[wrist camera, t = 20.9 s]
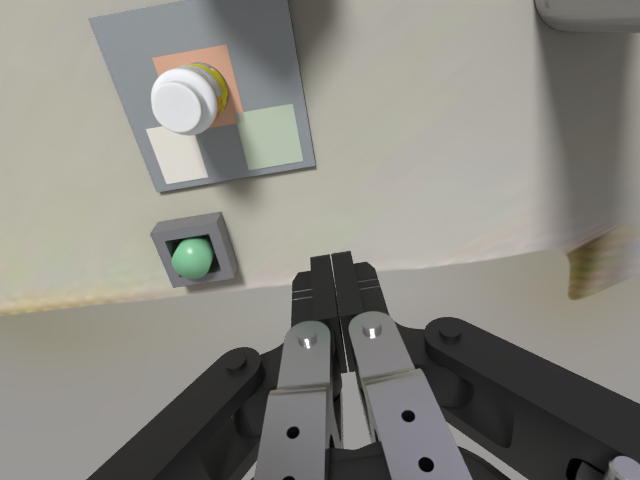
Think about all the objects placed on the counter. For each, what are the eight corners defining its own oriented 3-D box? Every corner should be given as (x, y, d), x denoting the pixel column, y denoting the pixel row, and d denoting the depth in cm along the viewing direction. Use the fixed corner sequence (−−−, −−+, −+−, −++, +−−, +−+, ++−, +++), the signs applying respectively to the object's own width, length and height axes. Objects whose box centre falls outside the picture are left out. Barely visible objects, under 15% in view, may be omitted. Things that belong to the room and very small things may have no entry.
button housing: (221, 211, 48) (216, 222, 45) (237, 265, 51) (234, 278, 49) (158, 222, 48) (150, 233, 45) (179, 274, 52) (173, 287, 49)
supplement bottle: (197, 127, 42) (169, 154, 33) (164, 78, 39) (125, 93, 30) (240, 102, 41) (224, 123, 32) (210, 50, 38) (182, 57, 29)
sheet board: (284, -18, 36) (284, -19, 36) (315, 164, 45) (315, 165, 45) (91, 18, 37) (87, 18, 37) (158, 190, 46) (156, 192, 45)
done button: (210, 229, 48) (203, 244, 44) (220, 258, 50) (214, 275, 47) (175, 234, 48) (166, 250, 45) (187, 263, 50) (178, 281, 47)
